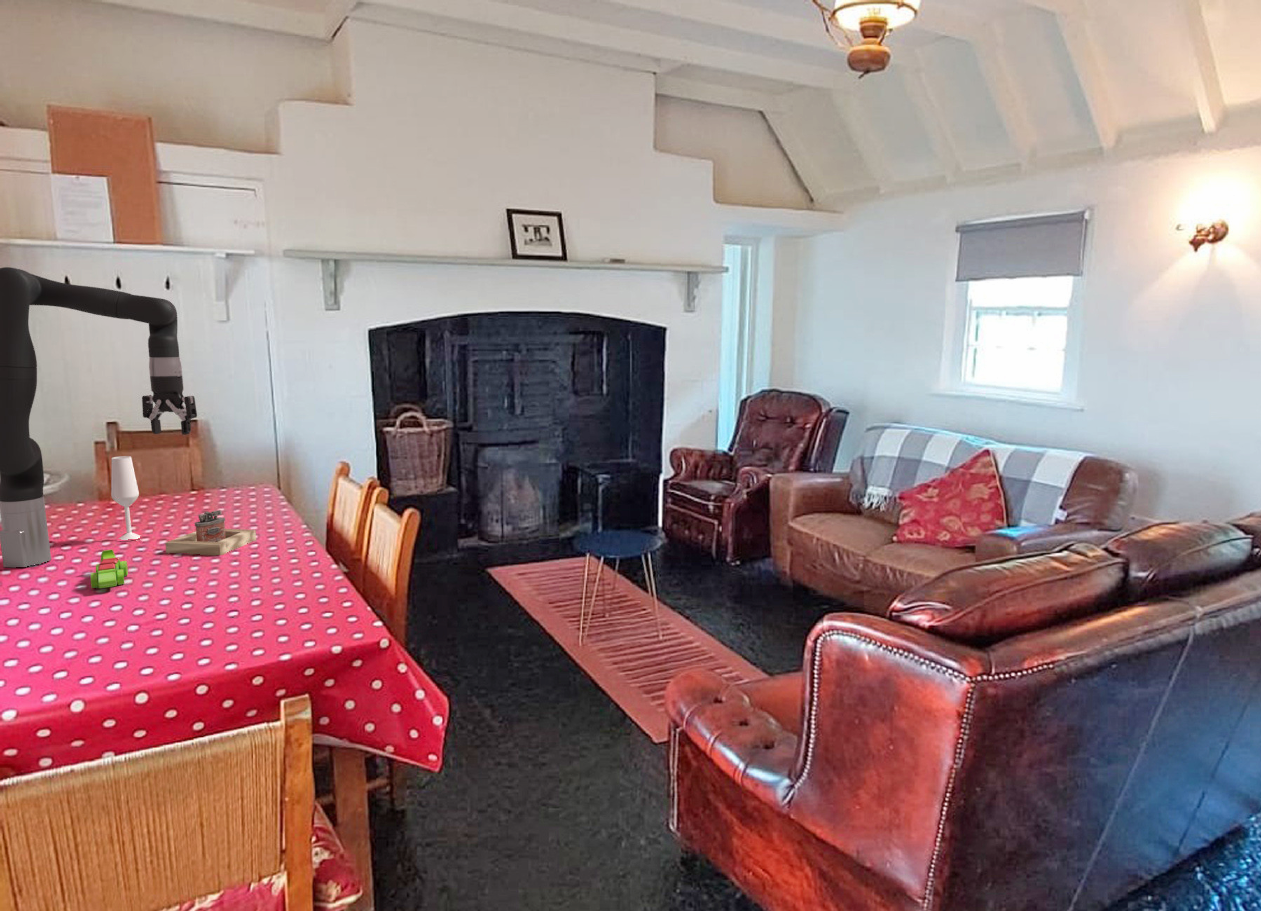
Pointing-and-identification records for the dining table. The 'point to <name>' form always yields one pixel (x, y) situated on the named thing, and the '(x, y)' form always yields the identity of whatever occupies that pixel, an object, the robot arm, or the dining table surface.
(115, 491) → the champagne flute
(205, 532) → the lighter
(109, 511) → the dining table surface
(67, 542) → the dining table surface
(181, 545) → the square beige frame
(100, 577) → the toy crocodile
